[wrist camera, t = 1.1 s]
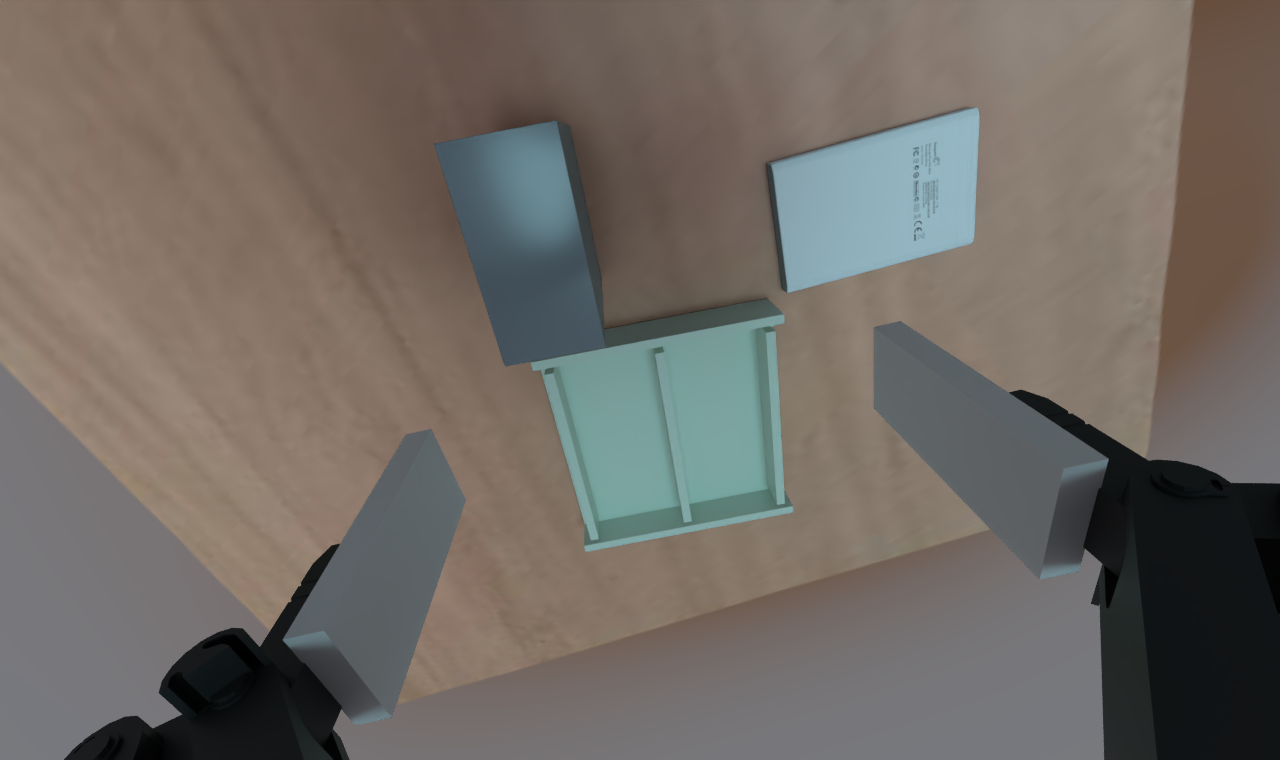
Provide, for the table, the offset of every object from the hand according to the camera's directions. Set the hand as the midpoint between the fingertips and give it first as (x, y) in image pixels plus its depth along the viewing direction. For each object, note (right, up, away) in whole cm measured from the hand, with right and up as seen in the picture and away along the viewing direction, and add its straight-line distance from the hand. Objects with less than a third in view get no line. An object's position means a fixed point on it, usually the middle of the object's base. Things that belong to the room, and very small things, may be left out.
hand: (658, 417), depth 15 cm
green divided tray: (+2, -2, +23) cm, 23 cm away
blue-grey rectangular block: (-6, +11, +16) cm, 21 cm away
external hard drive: (+14, +13, +18) cm, 26 cm away
